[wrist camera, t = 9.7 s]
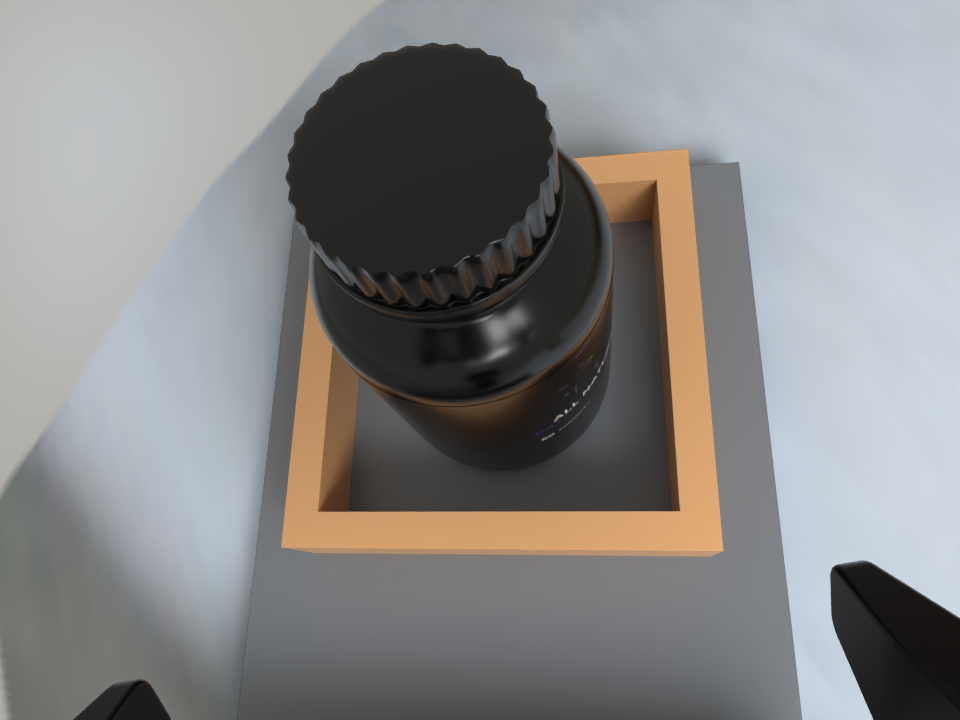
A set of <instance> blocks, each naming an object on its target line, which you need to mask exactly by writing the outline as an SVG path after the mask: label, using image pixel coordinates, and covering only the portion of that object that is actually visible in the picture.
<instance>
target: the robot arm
mask: <svg viewBox="0 0 960 720" xmlns="http://www.w3.org/2000/svg"><path fill="white" fill-rule="evenodd" d="M830 579H831V613H832V621H833V625H834V628H835V631H836V634H837V636H838V639H839V641H840V643H841V646H842V648H843V650H844V653H845V655H846V657H847V660H848V662H849V664H850V667H851V669H852V671H853V673H854V676H855V678H856V680H857V683H858V685H859V687H860V690H861V692H862V694H863V697H864V699H865V701H866V704H867V706H868V708H869V710H870V713H871V715H872V717H873V720H960V618H959V617H957V616H956V615H954V614H953V613H951V612H950V611H948V610H946V609H945V608H943V607H942V606H940V605H938V604H937V603H935V602H934V601H932V600H930V599H929V598H927V597H926V596H924V595H922V594H921V593H919V592H918V591H916V590H914V589H913V588H911V587H910V586H908V585H906V584H905V583H903V582H902V581H900V580H898V579H897V578H895V577H894V576H892V575H891V574H889V573H887V572H886V571H884V570H883V569H881V568H879V567H878V566H876V565H875V564H873V563H871V562H868V561H857V562H850V563H844V564H838V565H836V566H834V567H833V568H832V570H831V575H830ZM74 720H171V718H170V716H169V714H168V713H167V711H166V709H165V708H164V706H163V705H162V703H161V701H160V700H159V698H158V696H157V695H156V693H155V691H154V690H153V688H152V687H151V685H150V684H149V683H148V682H147V681H145V680H143V679H137V680H131V681H125V682H119V683H116V684H113V685H112V686H110V687H109V688H108V689H107V690H105V691H104V692H103V693H102V694H101V695H100V696H99V697H98V698H97V699H96V700H94V701H93V702H92V703H91V704H90V705H89V706H88V707H87V708H86V709H85V710H83V711H82V712H81V713H80V714H79V715H78V716H77V717H76V718H75V719H74Z"/></svg>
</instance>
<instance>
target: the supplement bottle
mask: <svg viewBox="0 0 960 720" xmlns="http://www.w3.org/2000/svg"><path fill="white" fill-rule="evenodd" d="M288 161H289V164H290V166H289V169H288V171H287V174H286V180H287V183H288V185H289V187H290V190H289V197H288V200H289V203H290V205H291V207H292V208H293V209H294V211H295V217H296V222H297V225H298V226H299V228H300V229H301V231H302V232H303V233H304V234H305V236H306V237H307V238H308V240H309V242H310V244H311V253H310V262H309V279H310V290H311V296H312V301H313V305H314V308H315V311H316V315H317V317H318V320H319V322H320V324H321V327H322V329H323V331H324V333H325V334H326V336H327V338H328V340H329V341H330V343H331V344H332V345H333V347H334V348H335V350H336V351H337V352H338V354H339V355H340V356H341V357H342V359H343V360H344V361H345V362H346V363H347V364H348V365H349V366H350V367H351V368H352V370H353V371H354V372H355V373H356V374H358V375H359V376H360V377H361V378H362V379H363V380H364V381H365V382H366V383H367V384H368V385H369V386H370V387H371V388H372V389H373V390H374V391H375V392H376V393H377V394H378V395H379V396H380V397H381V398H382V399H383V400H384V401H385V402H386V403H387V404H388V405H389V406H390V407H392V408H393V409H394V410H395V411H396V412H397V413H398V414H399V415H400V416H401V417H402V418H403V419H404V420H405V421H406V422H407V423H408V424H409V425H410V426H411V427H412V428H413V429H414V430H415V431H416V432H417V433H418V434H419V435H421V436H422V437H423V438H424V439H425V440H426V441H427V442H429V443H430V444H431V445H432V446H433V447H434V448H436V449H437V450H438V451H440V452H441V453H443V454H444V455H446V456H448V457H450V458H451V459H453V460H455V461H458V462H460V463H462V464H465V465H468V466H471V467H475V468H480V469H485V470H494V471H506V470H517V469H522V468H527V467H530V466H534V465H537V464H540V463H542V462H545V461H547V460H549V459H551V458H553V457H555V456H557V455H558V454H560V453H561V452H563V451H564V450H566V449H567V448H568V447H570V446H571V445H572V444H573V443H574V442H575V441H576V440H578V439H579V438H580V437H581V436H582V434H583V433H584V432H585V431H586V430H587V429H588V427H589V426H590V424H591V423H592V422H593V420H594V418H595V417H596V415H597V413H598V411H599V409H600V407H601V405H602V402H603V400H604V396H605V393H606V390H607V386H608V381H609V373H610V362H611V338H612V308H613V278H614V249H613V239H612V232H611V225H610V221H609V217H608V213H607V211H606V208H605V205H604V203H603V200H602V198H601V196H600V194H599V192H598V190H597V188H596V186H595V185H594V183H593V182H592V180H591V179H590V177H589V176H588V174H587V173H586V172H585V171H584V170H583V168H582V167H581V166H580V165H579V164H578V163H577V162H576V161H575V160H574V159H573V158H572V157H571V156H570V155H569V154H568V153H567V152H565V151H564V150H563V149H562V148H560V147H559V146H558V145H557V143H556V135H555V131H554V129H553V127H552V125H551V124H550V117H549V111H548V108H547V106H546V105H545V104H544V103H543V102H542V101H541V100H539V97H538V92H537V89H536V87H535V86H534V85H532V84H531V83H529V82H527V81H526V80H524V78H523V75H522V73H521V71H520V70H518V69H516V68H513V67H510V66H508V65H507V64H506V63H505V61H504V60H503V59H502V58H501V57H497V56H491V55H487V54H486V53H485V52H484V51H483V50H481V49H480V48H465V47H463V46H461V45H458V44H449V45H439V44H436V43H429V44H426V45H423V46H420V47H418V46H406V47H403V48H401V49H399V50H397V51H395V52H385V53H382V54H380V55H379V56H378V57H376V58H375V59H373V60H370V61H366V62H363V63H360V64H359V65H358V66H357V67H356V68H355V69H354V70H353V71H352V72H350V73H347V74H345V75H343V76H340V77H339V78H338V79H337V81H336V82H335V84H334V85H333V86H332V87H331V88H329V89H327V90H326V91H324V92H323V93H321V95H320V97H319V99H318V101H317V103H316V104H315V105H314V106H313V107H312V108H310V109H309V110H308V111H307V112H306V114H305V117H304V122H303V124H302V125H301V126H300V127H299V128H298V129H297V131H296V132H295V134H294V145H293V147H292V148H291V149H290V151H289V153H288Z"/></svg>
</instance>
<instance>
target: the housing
mask: <svg viewBox="0 0 960 720" xmlns="http://www.w3.org/2000/svg"><path fill="white" fill-rule="evenodd" d="M573 159H574V160H575V161H576V162H577V163H578V164H579V165H580V166H581V167H582V168H583V170H584V171H585V172H586V173H587V174H588V176H589V177H590V179H591V180H592V182H593V183H594V185H595V186H596V188H597V190H598V192H599V194H600V196H601V198H602V200H603V203H604V205H605V208H606V211H607V213H608V217H609V221H610V225H611V232H612V239H613V249H614V278H613V308H612V338H611V362H610V373H609V381H608V386H607V390H606V393H605V396H604V400H603V402H602V405H601V407H600V409H599V411H598V413H597V415H596V417H595V418H594V420H593V422H592V423H591V424H590V426H589V427H588V429H587V430H586V431H585V432H584V433H583V434H582V436H581V437H580V438H579V439H578V440H576V441H575V442H574V443H573V444H572V445H571V446H570V447H568V448H567V449H566V450H564V451H563V452H561V453H560V454H558V455H557V456H555V457H553V458H551V459H549V460H547V461H545V462H542V463H540V464H537V465H534V466H530V467H527V468H522V469H517V470H506V471H494V470H485V469H480V468H475V467H471V466H468V465H465V464H462V463H460V462H458V461H455V460H453V459H451V458H450V457H448V456H446V455H444V454H443V453H441V452H440V451H438V450H437V449H436V448H434V447H433V446H432V445H431V444H430V443H429V442H427V441H426V440H425V439H424V438H423V437H422V436H421V435H419V434H418V433H417V432H416V431H415V430H414V429H413V428H412V427H411V426H410V425H409V424H408V423H407V422H406V421H405V420H404V419H403V418H402V417H401V416H400V415H399V414H398V413H397V412H396V411H395V410H394V409H393V408H392V407H390V406H389V405H388V404H387V403H386V402H385V401H384V400H383V399H382V398H381V397H380V396H379V395H378V394H377V393H376V392H375V391H374V390H373V389H372V388H371V387H370V386H369V385H368V384H367V383H366V382H365V381H364V380H363V379H362V378H361V377H360V376H359V375H358V374H356V373H355V372H354V371H353V370H352V368H351V367H350V366H349V365H348V364H347V363H346V362H345V361H344V360H343V359H342V357H341V356H340V355H339V354H338V352H337V351H336V350H335V348H334V347H333V345H332V344H331V343H330V341H329V340H328V338H327V336H326V334H325V333H324V331H323V329H322V327H321V324H320V322H319V320H318V317H317V315H316V311H315V308H314V305H313V301H312V296H311V290H310V279H309V262H310V253H311V244H310V242H309V240H308V238H307V237H306V236H305V234H304V233H303V232H302V231H301V229H300V228H299V226H298V225H297V222H296V217H295V215H294V224H293V233H292V242H291V250H290V259H289V268H288V277H287V285H286V294H285V303H284V312H283V321H282V329H281V338H280V347H279V356H278V365H277V373H276V382H275V391H274V400H273V408H272V417H271V426H270V435H269V444H268V452H267V461H266V470H265V479H264V488H263V496H262V505H261V514H260V523H259V531H258V540H257V549H256V558H255V567H254V575H253V584H252V593H251V602H250V611H249V619H248V628H247V637H246V646H245V654H244V663H243V672H242V681H241V690H240V698H239V707H238V716H237V720H802V714H801V706H800V697H799V688H798V679H797V670H796V661H795V653H794V644H793V635H792V626H791V617H790V609H789V600H788V591H787V582H786V573H785V564H784V556H783V547H782V538H781V529H780V520H779V512H778V503H777V494H776V485H775V476H774V468H773V459H772V450H771V441H770V432H769V423H768V415H767V406H766V397H765V388H764V379H763V371H762V362H761V353H760V344H759V335H758V327H757V318H756V309H755V300H754V291H753V282H752V274H751V265H750V256H749V247H748V238H747V230H746V221H745V212H744V203H743V194H742V186H741V177H740V168H739V162H734V163H722V164H709V165H696V166H690V165H689V153H688V149H679V150H667V151H655V152H643V153H631V154H619V155H607V156H595V157H583V158H573Z"/></svg>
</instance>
